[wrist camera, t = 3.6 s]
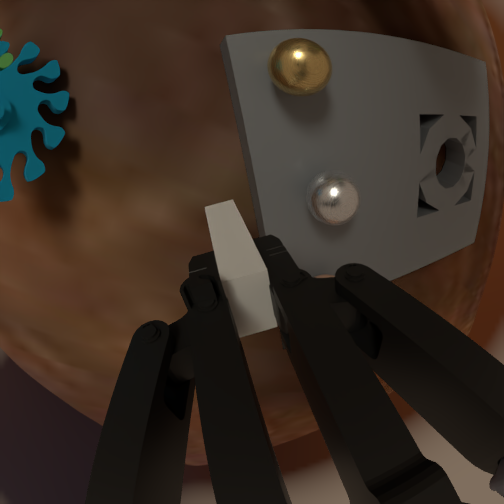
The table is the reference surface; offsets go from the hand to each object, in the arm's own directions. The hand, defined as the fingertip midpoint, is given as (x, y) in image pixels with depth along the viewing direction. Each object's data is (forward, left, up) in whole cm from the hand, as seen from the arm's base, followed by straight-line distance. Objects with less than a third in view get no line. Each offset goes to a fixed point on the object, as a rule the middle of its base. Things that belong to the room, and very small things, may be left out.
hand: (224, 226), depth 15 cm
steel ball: (0, +6, 0) cm, 6 cm away
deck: (0, +14, -4) cm, 15 cm away
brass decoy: (-8, +5, 0) cm, 9 cm away
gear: (-11, -11, -4) cm, 16 cm away
